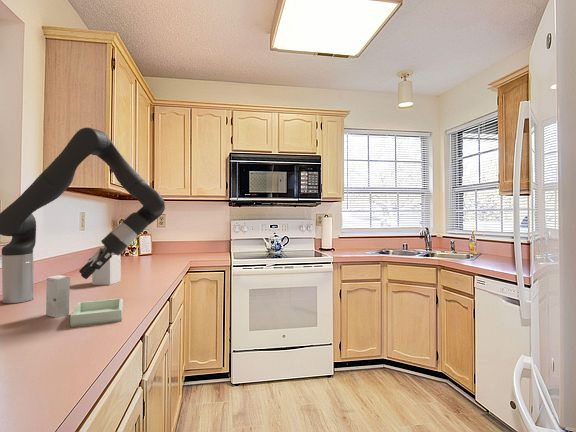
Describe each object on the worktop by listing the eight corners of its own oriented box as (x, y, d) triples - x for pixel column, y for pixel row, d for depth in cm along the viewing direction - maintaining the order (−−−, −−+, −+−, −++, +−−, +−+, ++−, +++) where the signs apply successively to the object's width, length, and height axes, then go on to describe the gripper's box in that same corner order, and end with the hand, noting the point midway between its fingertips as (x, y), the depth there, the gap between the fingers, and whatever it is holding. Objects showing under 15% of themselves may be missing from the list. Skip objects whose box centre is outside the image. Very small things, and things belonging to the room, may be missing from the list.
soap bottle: (121, 281, 165) (120, 240, 165) (110, 285, 156) (109, 242, 156) (104, 281, 166) (103, 240, 166) (92, 284, 157) (91, 242, 157)
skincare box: (45, 315, 111) (44, 277, 110) (60, 311, 114) (59, 274, 114) (55, 318, 107) (55, 278, 107) (70, 314, 111) (70, 276, 111)
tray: (78, 312, 113) (78, 302, 113) (122, 307, 119) (122, 298, 119) (70, 327, 99) (70, 315, 99) (121, 321, 104) (121, 310, 104)
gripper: (108, 230, 125) (71, 265, 119) (114, 232, 114) (73, 271, 107) (124, 244, 128) (89, 279, 122) (132, 247, 117) (93, 286, 110)
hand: (82, 275), depth 115 cm, fingers open, 8 cm apart
